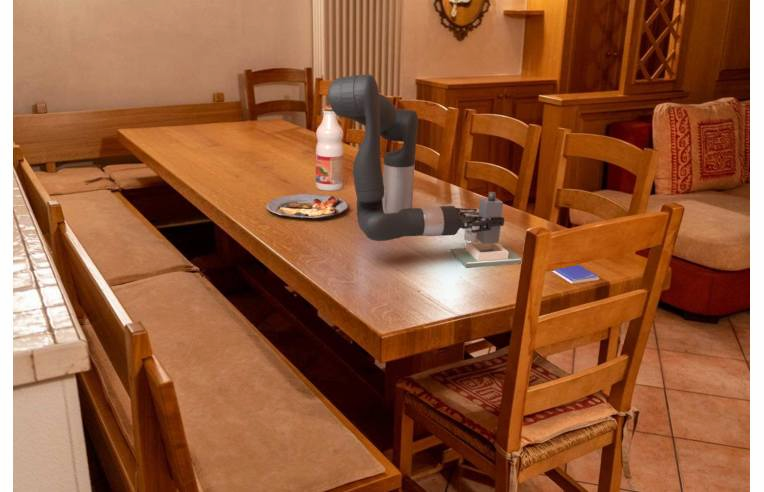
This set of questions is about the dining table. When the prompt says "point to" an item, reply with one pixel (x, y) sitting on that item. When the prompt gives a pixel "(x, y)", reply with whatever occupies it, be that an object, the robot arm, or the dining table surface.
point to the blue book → (576, 274)
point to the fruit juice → (329, 152)
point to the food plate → (308, 206)
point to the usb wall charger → (470, 236)
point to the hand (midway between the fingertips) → (499, 218)
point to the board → (485, 255)
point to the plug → (490, 209)
